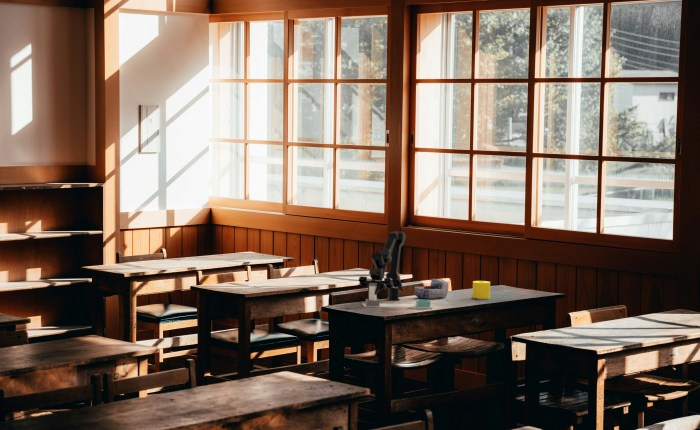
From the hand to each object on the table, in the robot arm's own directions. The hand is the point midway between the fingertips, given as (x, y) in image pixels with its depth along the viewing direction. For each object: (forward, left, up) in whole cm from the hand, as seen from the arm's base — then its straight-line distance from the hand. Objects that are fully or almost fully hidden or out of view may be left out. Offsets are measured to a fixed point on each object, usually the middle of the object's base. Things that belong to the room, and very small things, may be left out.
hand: (371, 294), depth 572 cm
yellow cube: (-42, +69, -7) cm, 81 cm away
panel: (-2, +14, -7) cm, 16 cm away
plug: (-1, +1, -6) cm, 6 cm away
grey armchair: (-41, +39, -7) cm, 57 cm away
